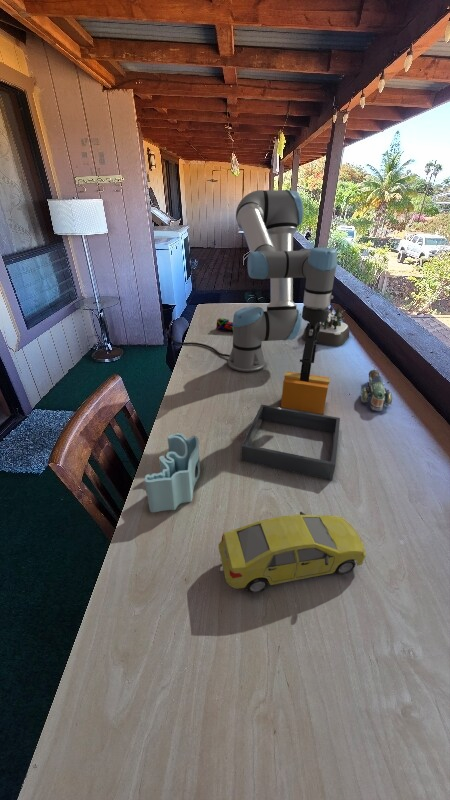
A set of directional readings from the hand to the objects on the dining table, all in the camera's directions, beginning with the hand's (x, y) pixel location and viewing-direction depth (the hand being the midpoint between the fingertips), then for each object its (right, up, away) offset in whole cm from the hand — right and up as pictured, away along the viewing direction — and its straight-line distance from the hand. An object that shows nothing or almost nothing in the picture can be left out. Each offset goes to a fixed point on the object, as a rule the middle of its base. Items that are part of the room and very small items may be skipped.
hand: (307, 371), depth 113 cm
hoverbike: (+27, -8, +12) cm, 30 cm away
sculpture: (-16, +26, +68) cm, 74 cm away
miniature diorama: (+24, +22, +61) cm, 69 cm away
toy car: (-13, -42, -44) cm, 62 cm away
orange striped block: (0, -11, +6) cm, 13 cm away
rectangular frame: (-7, -22, -12) cm, 27 cm away
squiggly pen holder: (-38, -31, -26) cm, 55 cm away
